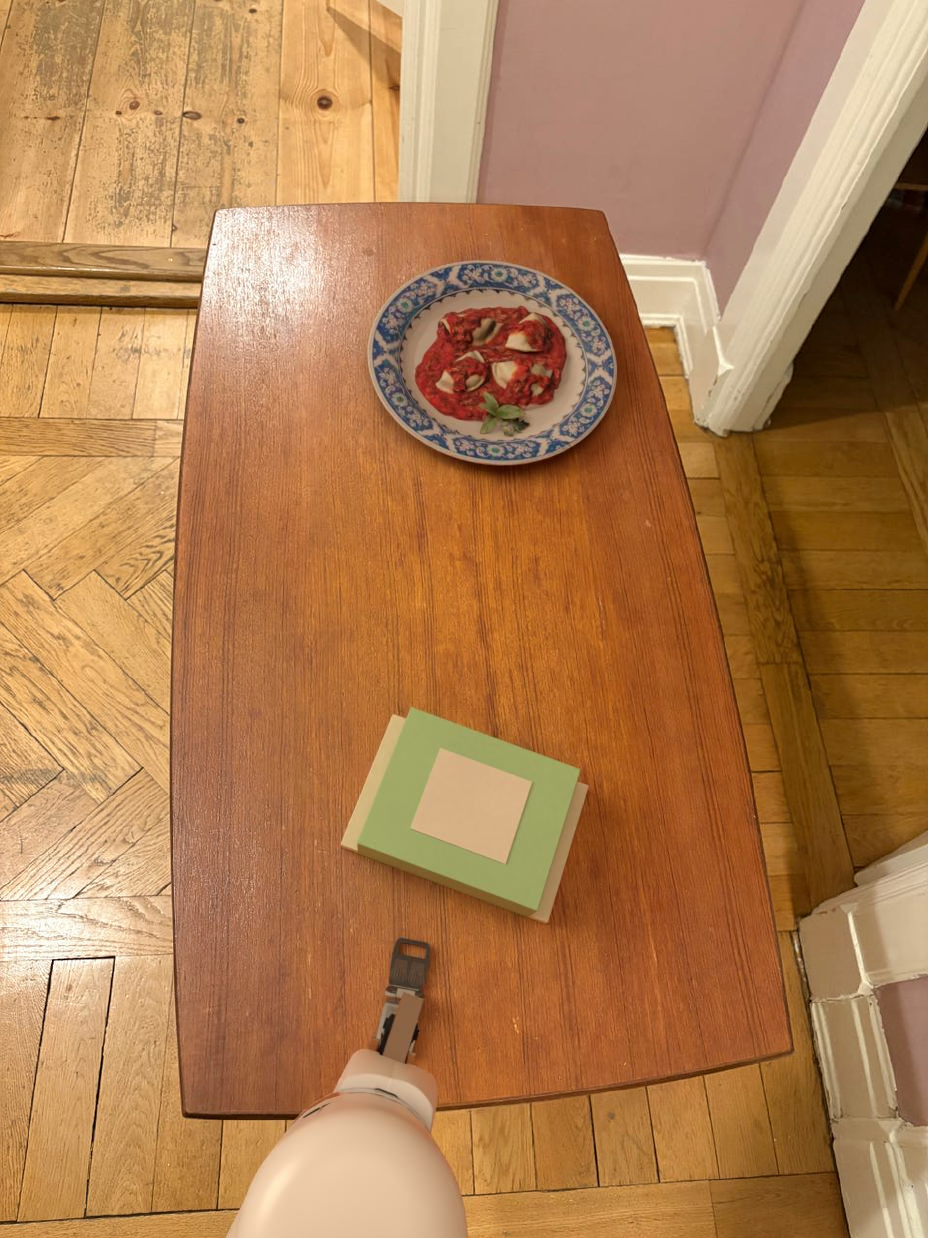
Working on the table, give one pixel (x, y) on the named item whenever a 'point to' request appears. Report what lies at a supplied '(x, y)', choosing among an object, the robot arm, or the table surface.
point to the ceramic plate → (492, 362)
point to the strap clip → (404, 980)
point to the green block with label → (468, 813)
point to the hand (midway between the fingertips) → (358, 1142)
